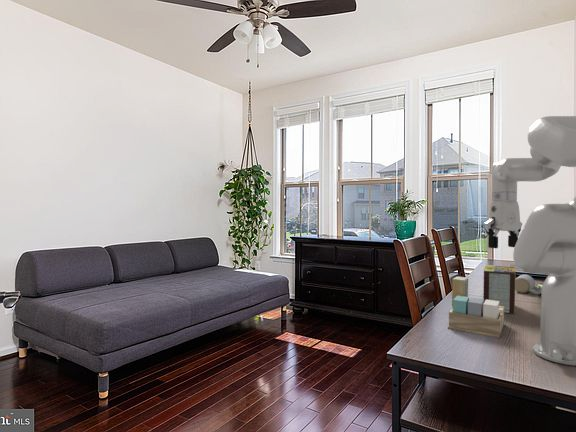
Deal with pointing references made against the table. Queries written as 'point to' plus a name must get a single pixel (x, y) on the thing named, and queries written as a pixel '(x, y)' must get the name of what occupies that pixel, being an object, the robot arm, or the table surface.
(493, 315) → the white rectangular block
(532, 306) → the table surface
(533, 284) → the ceramic mug
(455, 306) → the teal key
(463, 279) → the skincare box
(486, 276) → the protein box
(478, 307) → the slate key
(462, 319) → the tan wooden box
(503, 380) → the table surface
